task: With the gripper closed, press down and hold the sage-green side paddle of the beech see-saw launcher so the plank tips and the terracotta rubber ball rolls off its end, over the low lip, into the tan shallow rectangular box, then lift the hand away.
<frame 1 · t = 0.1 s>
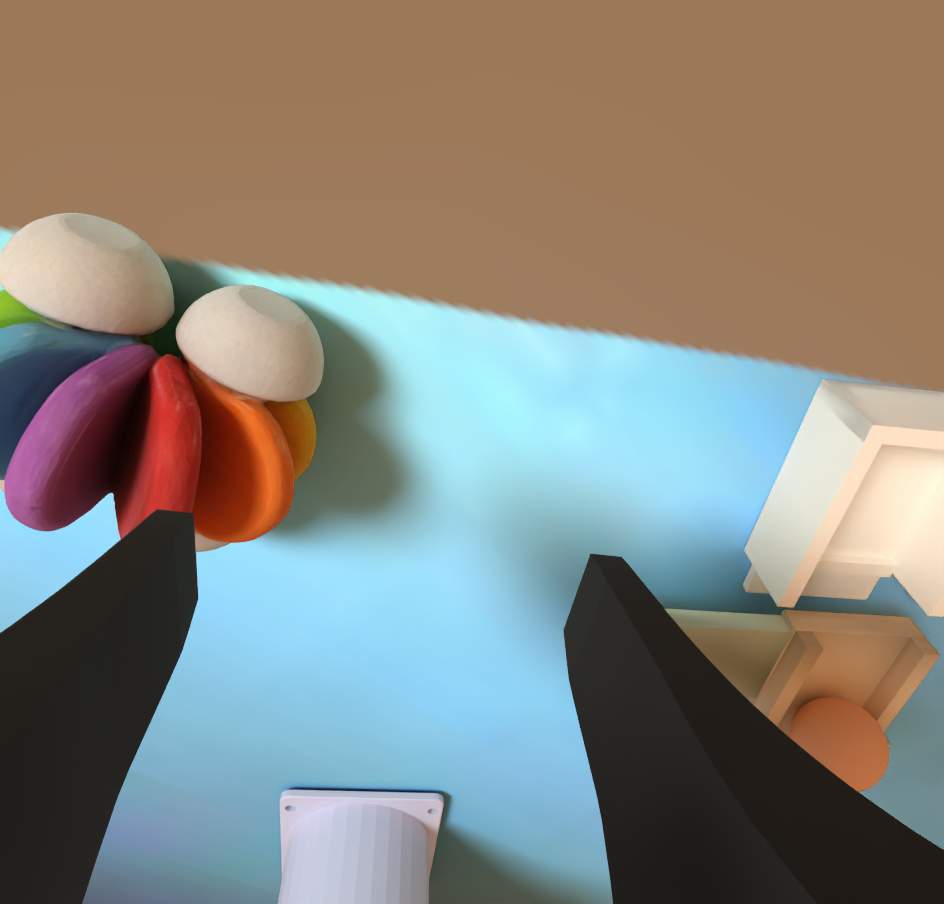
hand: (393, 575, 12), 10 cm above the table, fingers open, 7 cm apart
colorful rounded pieces cluster: (174, 366, 21), on the table
launcher: (697, 734, 28), point 3 cm above the table, hinge at 0.0°, touching ball
ball: (837, 743, 24), point 5 cm above the table, touching launcher
tan shallow rectangular box: (858, 485, 25), on the table
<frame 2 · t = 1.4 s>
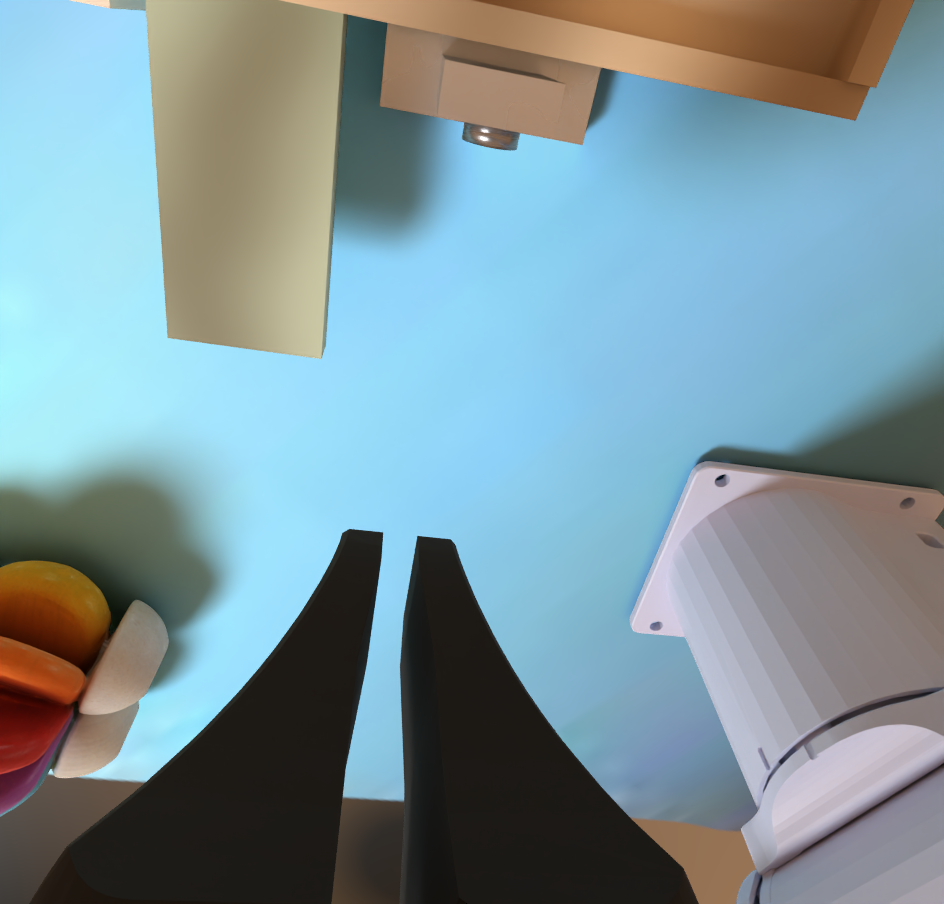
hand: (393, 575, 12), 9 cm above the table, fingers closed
colorful rounded pieces cluster: (52, 620, 26), on the table
launcher: (494, 106, 14), point 3 cm above the table, hinge at 0.0°, touching ball
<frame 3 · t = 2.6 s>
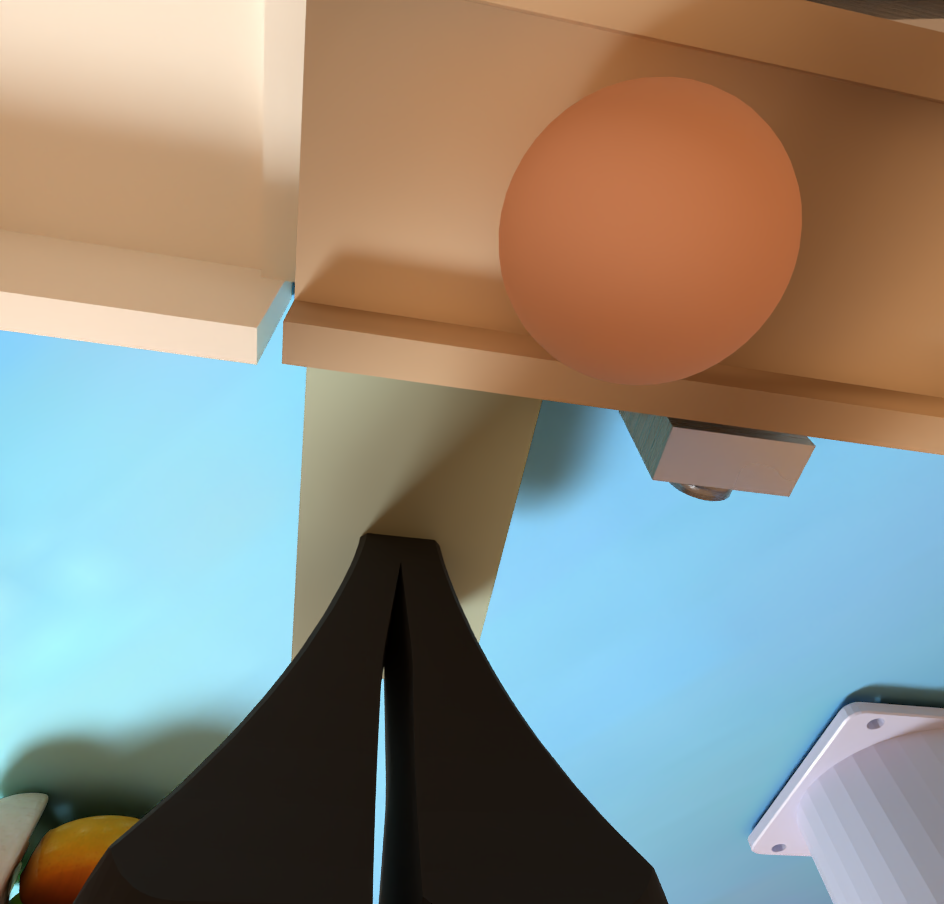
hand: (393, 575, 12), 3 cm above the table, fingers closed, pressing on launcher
colorful rounded pieces cluster: (109, 845, 23), on the table
launcher: (707, 441, 12), point 3 cm above the table, hinge at 0.3°, touching ball, gripper
mount: (724, 193, 12), on the table
ball: (642, 241, 7), point 5 cm above the table, touching launcher
tan shallow rectangular box: (80, 73, 11), on the table
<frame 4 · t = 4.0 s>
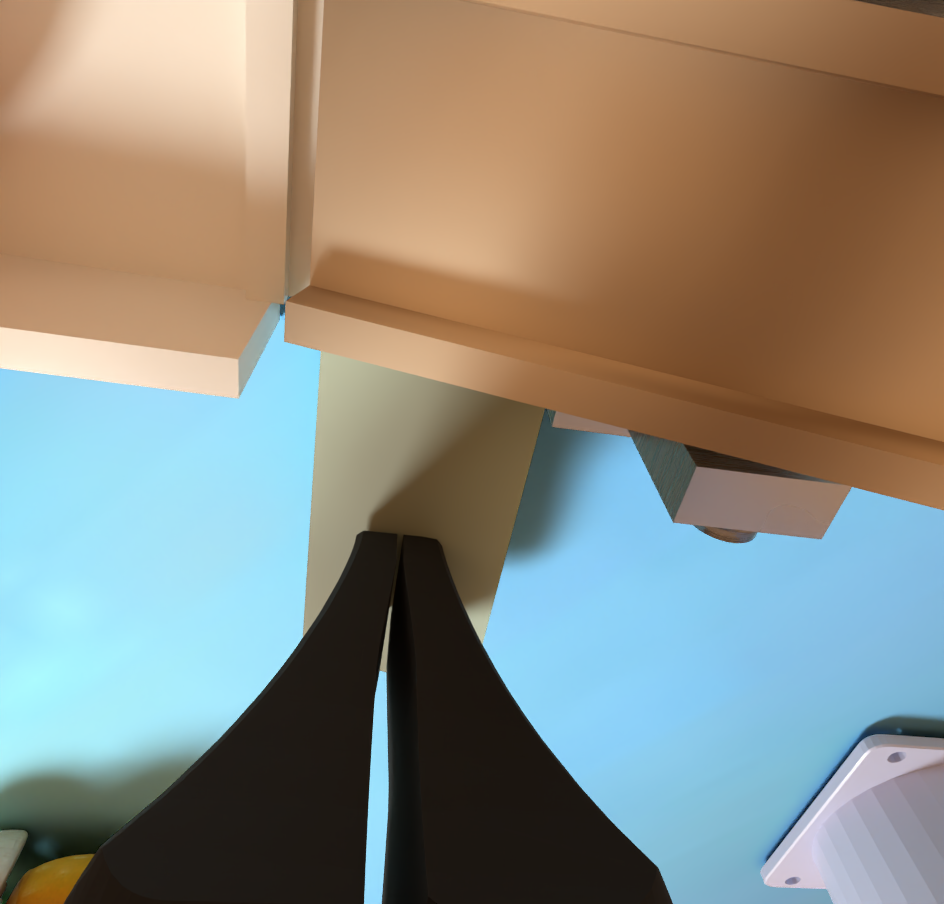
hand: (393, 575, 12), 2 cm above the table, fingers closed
colorful rounded pieces cluster: (94, 880, 22), on the table
launcher: (733, 477, 11), point 3 cm above the table, hinge at 15.0°, touching gripper
mount: (748, 207, 11), on the table
tan shallow rectangular box: (45, 77, 10), on the table
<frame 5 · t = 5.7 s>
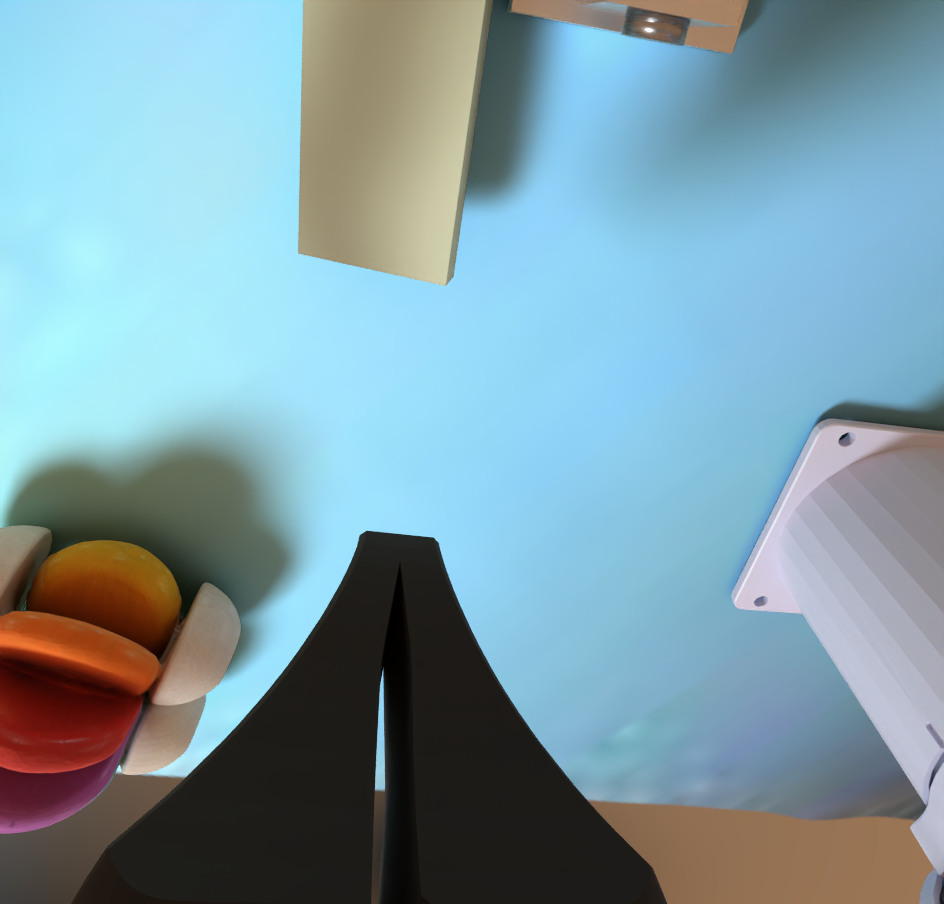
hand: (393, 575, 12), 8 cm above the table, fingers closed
colorful rounded pieces cluster: (113, 607, 24), on the table
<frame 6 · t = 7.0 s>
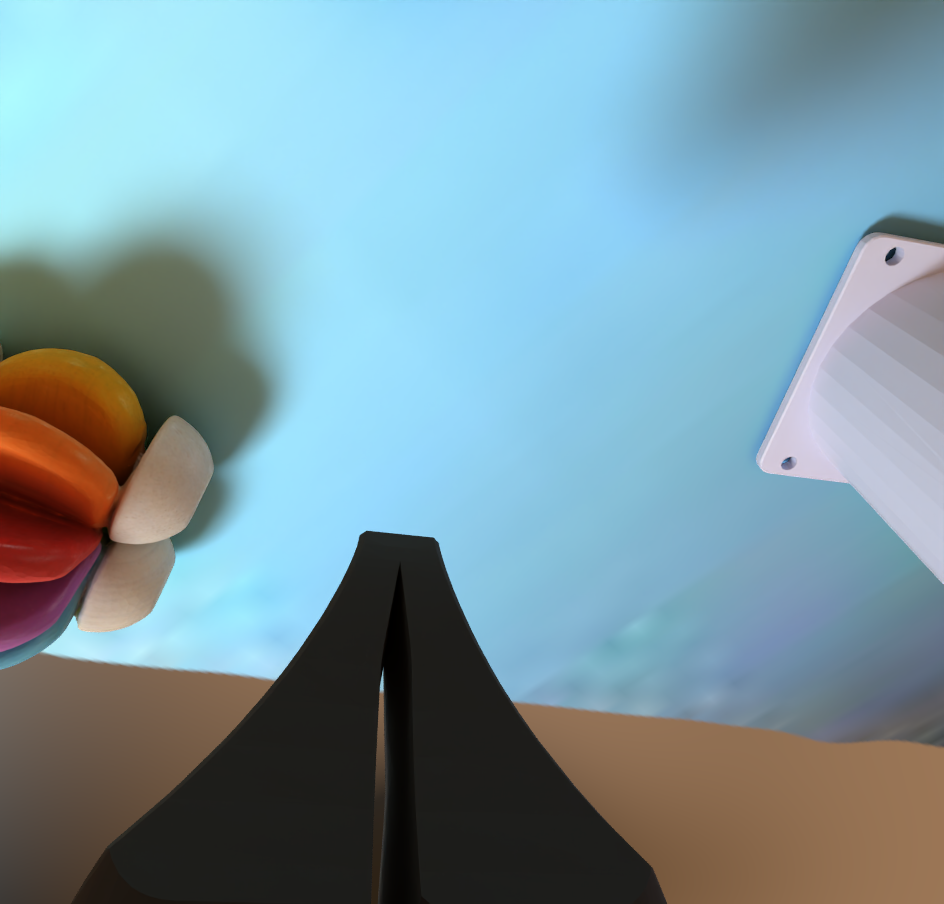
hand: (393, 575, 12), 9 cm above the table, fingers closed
colorful rounded pieces cluster: (73, 453, 22), on the table
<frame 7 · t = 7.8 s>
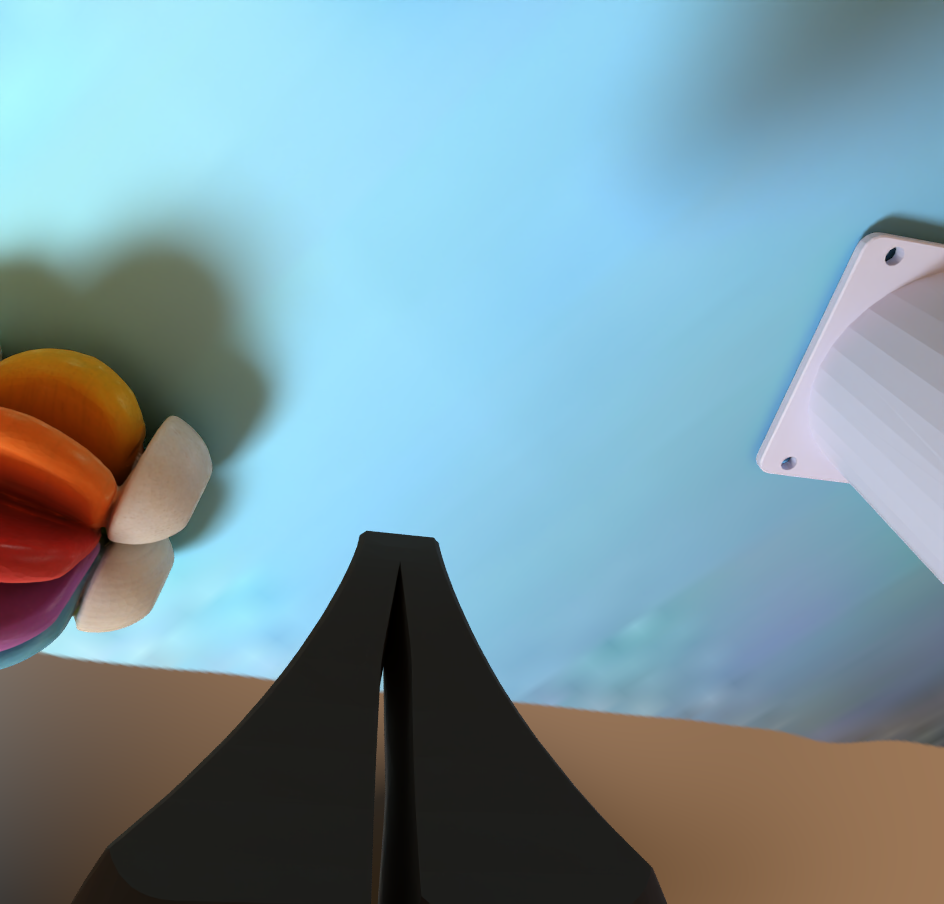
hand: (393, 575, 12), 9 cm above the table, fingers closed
colorful rounded pieces cluster: (72, 454, 22), on the table
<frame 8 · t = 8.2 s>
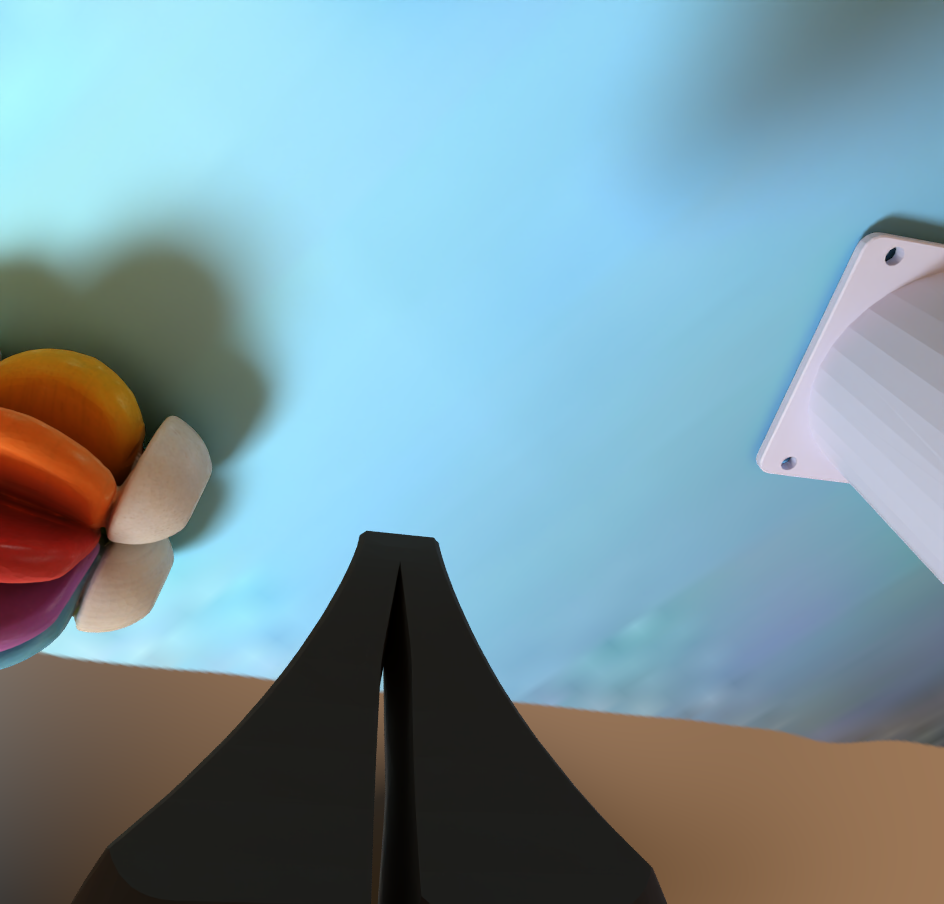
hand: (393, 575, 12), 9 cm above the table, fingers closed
colorful rounded pieces cluster: (72, 454, 22), on the table
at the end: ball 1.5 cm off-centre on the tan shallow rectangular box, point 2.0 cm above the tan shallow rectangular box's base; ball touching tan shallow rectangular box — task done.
